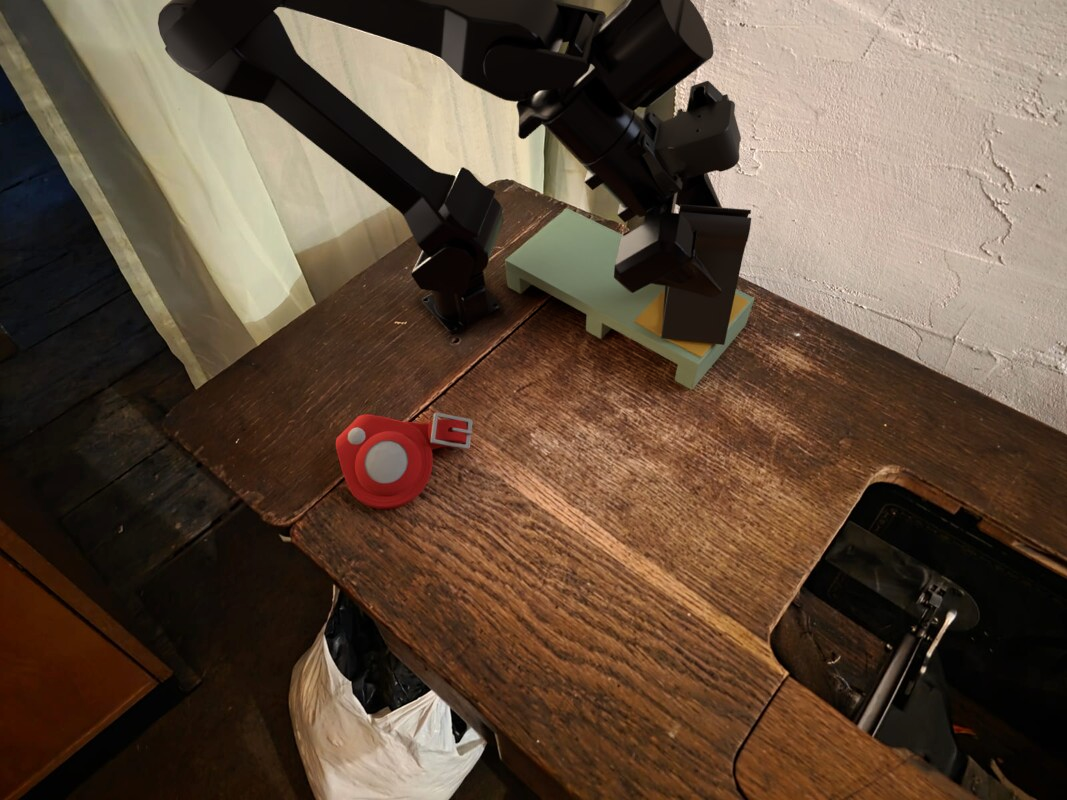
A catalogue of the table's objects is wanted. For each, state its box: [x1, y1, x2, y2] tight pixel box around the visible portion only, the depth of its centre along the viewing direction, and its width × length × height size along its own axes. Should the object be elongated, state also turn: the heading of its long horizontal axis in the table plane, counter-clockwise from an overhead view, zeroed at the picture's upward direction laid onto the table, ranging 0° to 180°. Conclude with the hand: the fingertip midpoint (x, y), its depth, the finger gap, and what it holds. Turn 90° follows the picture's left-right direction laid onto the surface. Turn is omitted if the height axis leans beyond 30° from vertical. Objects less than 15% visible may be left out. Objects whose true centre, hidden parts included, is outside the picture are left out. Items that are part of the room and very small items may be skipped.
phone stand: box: [661, 204, 752, 345], centre depth 62 cm, size 9×6×12 cm, turn 170°
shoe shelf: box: [504, 207, 755, 391], centre depth 72 cm, size 24×11×4 cm, turn 51°
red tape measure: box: [335, 412, 474, 510], centre depth 62 cm, size 12×4×10 cm
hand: (720, 258), depth 61 cm, fingers open, 9 cm apart
